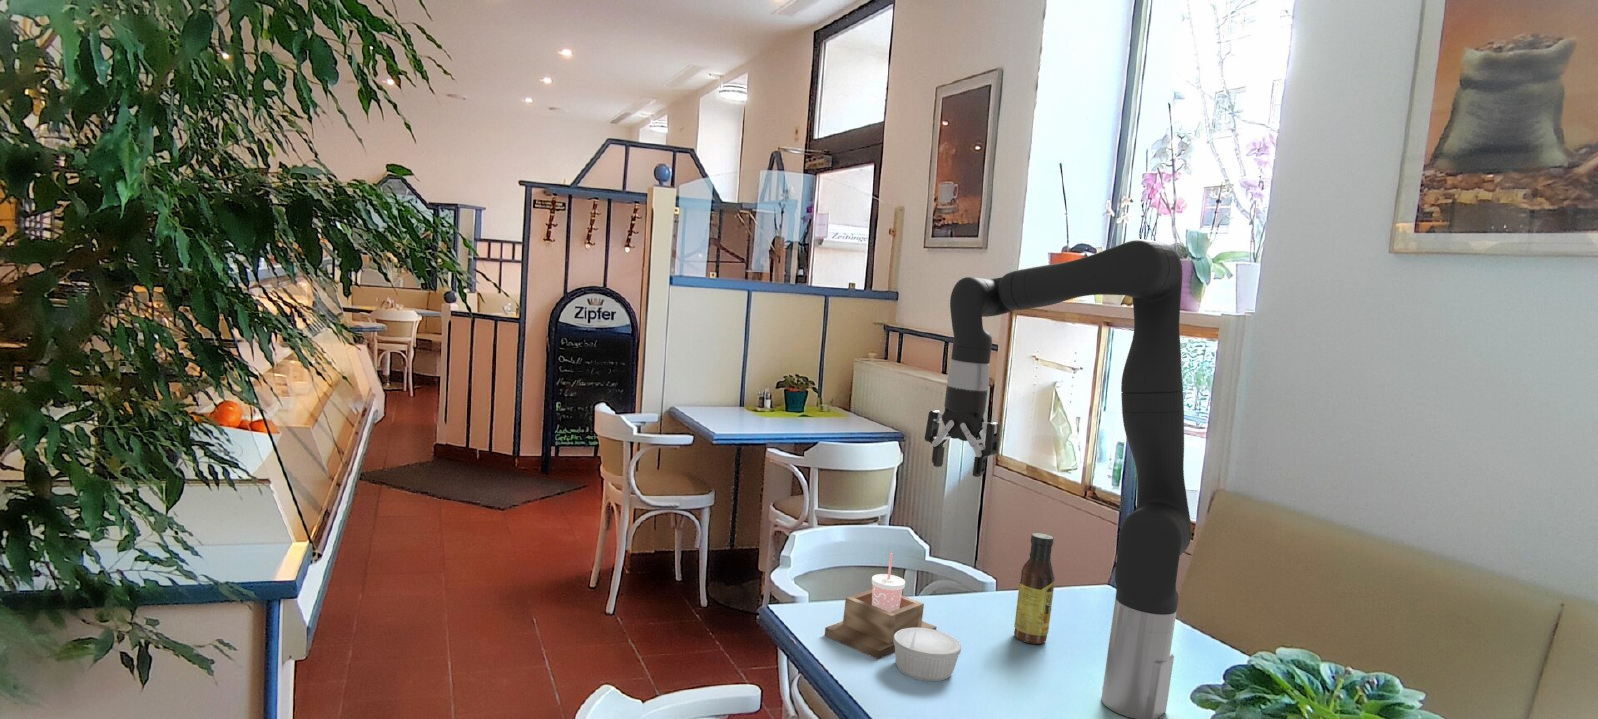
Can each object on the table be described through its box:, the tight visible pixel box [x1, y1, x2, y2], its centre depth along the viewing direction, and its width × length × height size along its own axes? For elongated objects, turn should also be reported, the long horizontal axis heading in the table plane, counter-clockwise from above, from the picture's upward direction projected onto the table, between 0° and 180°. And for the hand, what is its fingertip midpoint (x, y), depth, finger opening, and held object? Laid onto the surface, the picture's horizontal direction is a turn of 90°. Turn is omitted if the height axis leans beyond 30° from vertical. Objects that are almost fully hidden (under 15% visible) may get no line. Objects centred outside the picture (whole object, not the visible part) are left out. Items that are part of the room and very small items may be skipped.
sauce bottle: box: [1013, 532, 1056, 645], centre depth 171 cm, size 7×6×20 cm
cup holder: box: [824, 588, 938, 660], centre depth 166 cm, size 12×18×6 cm, turn 139°
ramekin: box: [893, 628, 962, 682], centre depth 153 cm, size 11×11×5 cm
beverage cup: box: [871, 552, 906, 612], centre depth 165 cm, size 6×6×14 cm
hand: (956, 471), depth 170 cm, fingers open, 8 cm apart
